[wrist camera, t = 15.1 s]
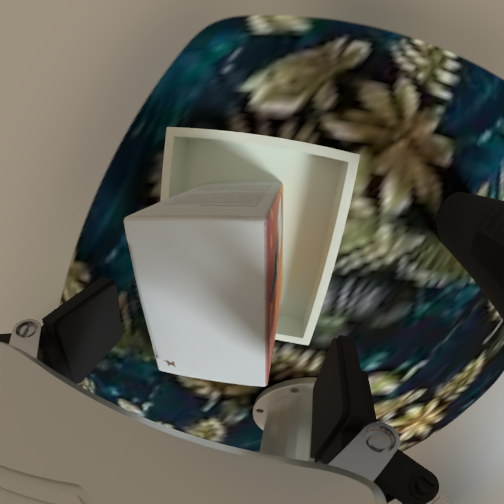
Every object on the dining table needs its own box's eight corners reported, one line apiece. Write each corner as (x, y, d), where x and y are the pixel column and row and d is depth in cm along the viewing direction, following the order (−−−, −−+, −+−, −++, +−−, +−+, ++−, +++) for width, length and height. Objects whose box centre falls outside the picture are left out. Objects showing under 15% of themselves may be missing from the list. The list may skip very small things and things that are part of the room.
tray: (350, 154, 17) (360, 154, 14) (308, 322, 22) (308, 345, 20) (184, 129, 18) (166, 127, 15) (174, 293, 24) (160, 311, 21)
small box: (283, 285, 21) (268, 391, 11) (213, 281, 22) (157, 374, 12) (285, 180, 18) (270, 216, 8) (205, 180, 19) (118, 217, 9)
